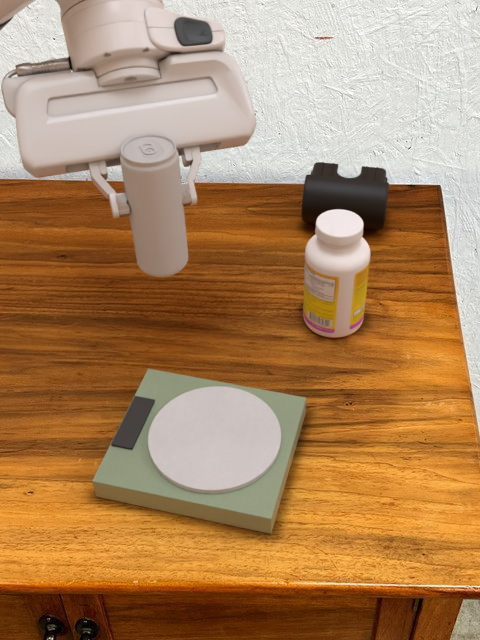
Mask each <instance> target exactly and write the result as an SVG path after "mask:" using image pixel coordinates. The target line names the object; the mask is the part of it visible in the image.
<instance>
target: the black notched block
mask: <svg viewBox="0 0 480 640" xmlns="http://www.w3.org/2000/svg"><path fill="white" fill-rule="evenodd" d="M338 169H339V163H335V162H332V163H331V162H324V161H322V162H321V161H318V162H315V163H314V164H313V167H312V170H311V171H310V174H306V175H305V178H304V182H303V190H302V200H301V220H302V221H303V222H304V223H307V224H311V225H316V220H317V218H318V217H319V215H321V214H322V213H324V212H326V211H329V210H334V209H342V210H348V211H351V212H354V213H355V214H357V215H358V216H360V217H361V219H362V220H363V225H364V226H363V230H370V231H381V230H383V229H385V221H386V213H387V207H388V206H387V205H388V198H389V190H390V183H389V182H388V177H387V170H386V169H385V168H382V167H379V166H377V167H373V166H367V165H366V166H365V165H364V166H363V165H362V166H361V169H360V174H359V175H357V176H355V177H346V176H342V175H340V174H339V172H338Z"/></svg>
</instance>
